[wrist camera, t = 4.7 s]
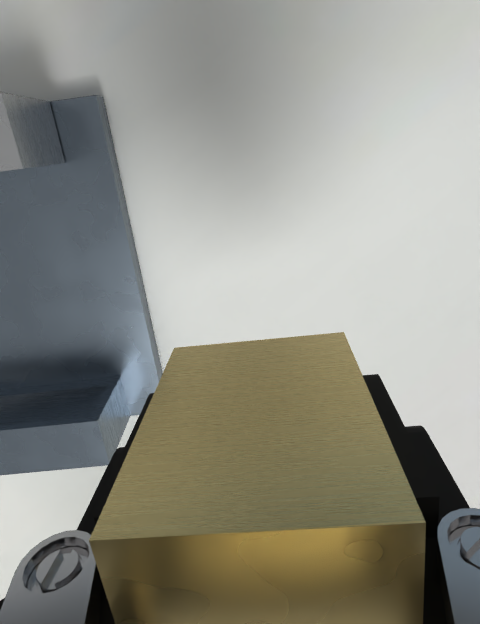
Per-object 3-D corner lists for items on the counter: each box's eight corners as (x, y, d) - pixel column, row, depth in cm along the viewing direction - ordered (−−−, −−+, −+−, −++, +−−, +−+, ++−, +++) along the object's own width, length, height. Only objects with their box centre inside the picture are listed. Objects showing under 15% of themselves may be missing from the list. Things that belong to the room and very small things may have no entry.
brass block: (343, 332, 10) (426, 522, 5) (351, 501, 12) (418, 773, 7) (173, 348, 11) (88, 541, 5) (205, 510, 12) (163, 774, 7)
